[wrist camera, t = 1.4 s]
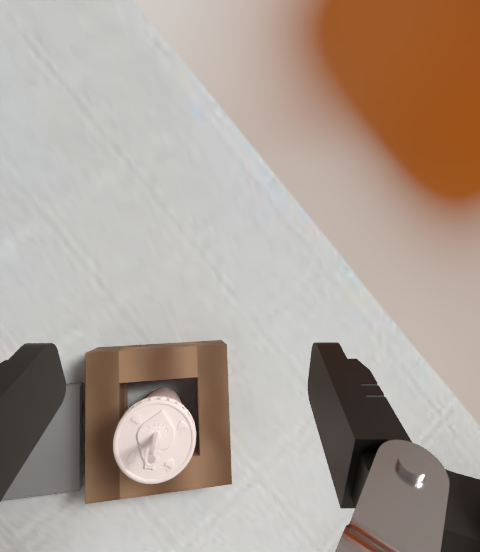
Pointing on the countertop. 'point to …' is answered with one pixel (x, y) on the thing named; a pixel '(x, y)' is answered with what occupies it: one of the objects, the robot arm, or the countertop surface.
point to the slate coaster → (55, 453)
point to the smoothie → (155, 438)
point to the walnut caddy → (114, 403)
